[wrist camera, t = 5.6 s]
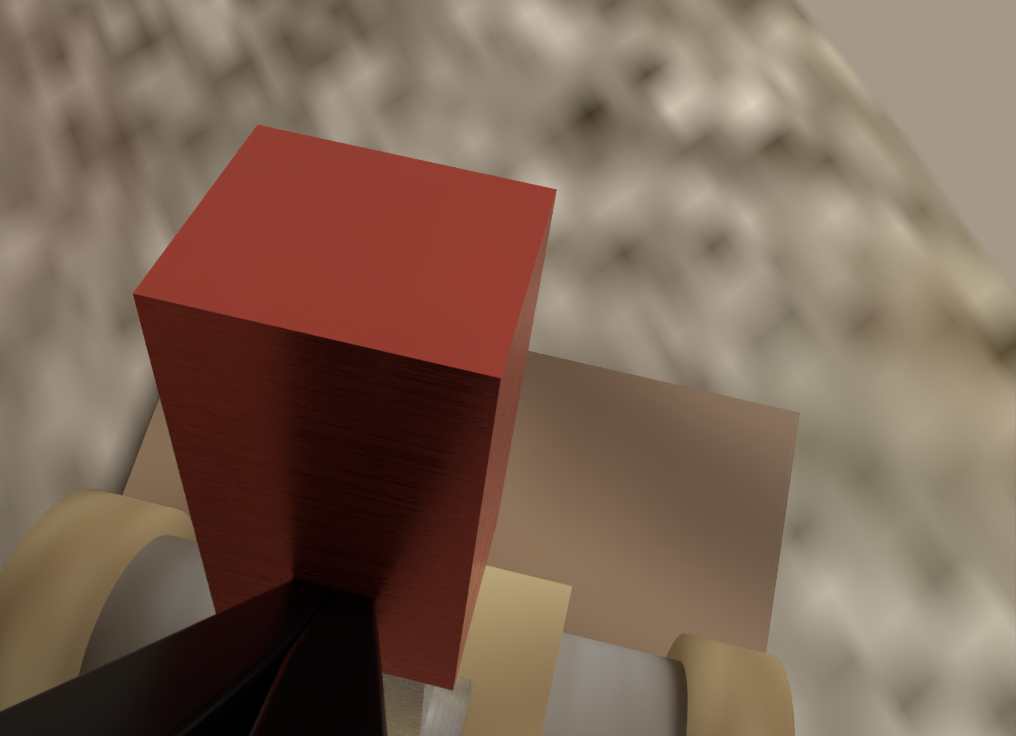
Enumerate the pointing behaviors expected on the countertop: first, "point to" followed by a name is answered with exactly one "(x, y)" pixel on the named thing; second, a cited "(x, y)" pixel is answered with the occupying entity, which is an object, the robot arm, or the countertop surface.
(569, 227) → the countertop surface
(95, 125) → the countertop surface
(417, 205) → the lever
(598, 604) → the valve stand
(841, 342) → the countertop surface
